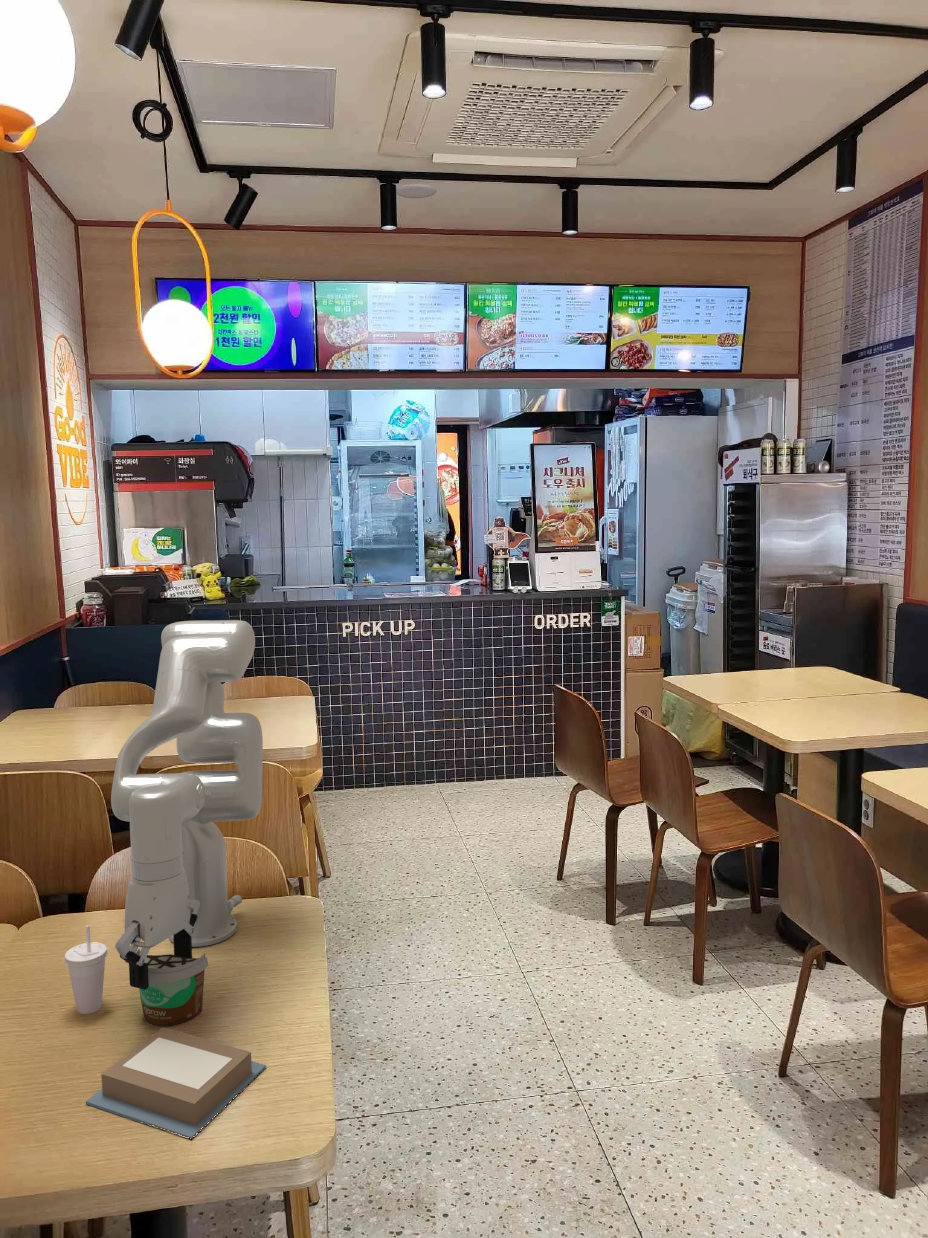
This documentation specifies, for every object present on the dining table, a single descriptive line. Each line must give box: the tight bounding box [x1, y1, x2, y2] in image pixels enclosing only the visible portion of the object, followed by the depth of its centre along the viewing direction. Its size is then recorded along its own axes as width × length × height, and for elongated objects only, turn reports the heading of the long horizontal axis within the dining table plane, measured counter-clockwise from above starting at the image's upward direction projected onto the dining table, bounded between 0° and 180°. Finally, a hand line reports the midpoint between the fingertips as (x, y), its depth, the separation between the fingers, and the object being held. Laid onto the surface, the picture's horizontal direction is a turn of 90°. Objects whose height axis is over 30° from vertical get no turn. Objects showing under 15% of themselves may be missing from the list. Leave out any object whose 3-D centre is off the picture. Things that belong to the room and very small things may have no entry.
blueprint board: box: [85, 1027, 267, 1140], centre depth 123 cm, size 16×18×4 cm
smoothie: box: [64, 925, 108, 1015], centre depth 142 cm, size 6×6×14 cm
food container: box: [136, 948, 210, 1028], centre depth 139 cm, size 12×6×10 cm, turn 82°
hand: (161, 972), depth 138 cm, fingers open, 9 cm apart
